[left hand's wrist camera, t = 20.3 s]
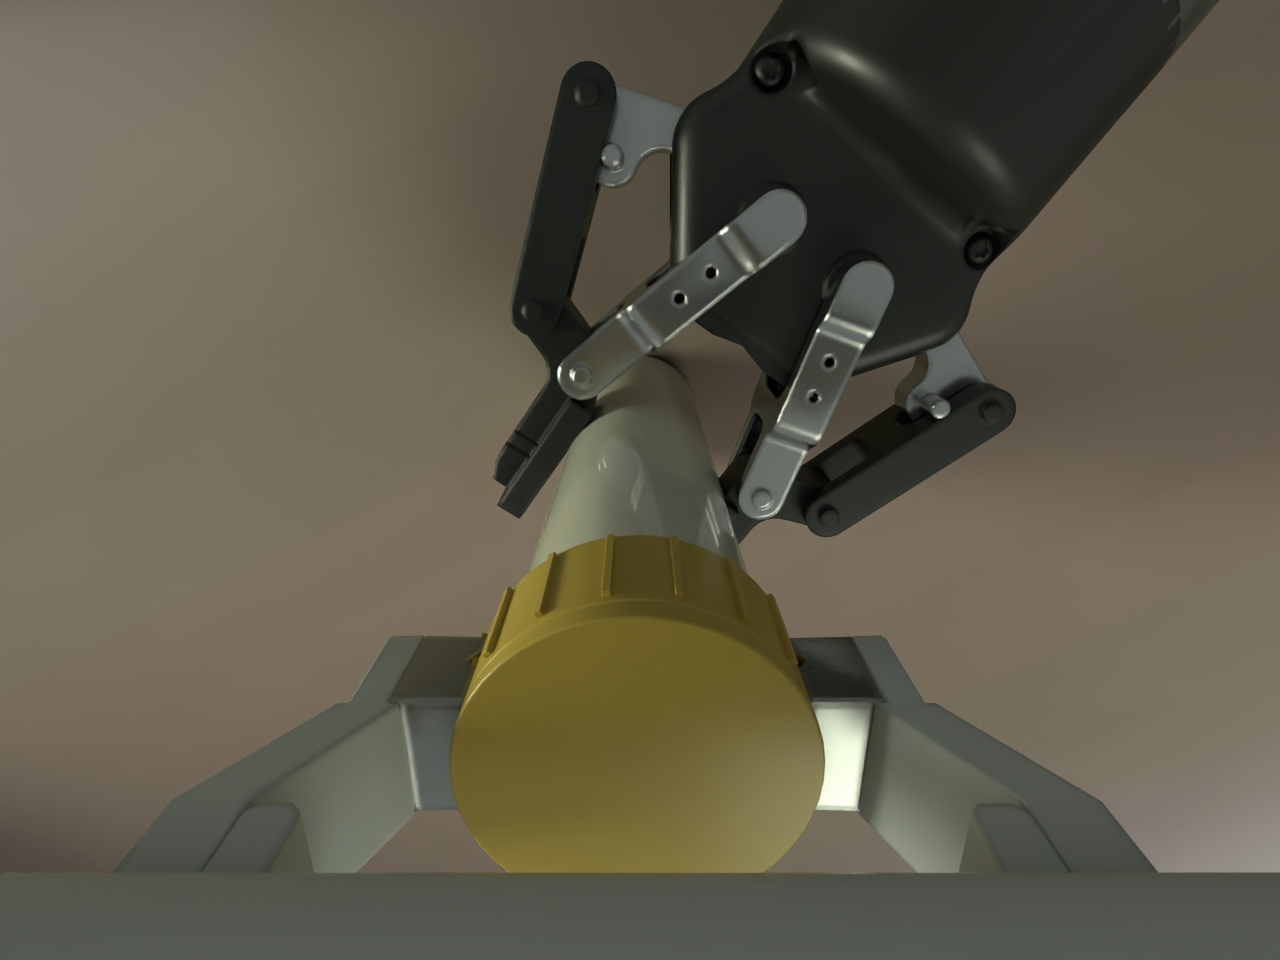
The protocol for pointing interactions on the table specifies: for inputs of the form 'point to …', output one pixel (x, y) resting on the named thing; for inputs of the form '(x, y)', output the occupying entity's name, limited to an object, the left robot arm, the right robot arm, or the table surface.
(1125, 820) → the table surface
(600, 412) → the pale cream cylinder
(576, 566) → the lid
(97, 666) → the table surface
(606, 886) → the left robot arm
